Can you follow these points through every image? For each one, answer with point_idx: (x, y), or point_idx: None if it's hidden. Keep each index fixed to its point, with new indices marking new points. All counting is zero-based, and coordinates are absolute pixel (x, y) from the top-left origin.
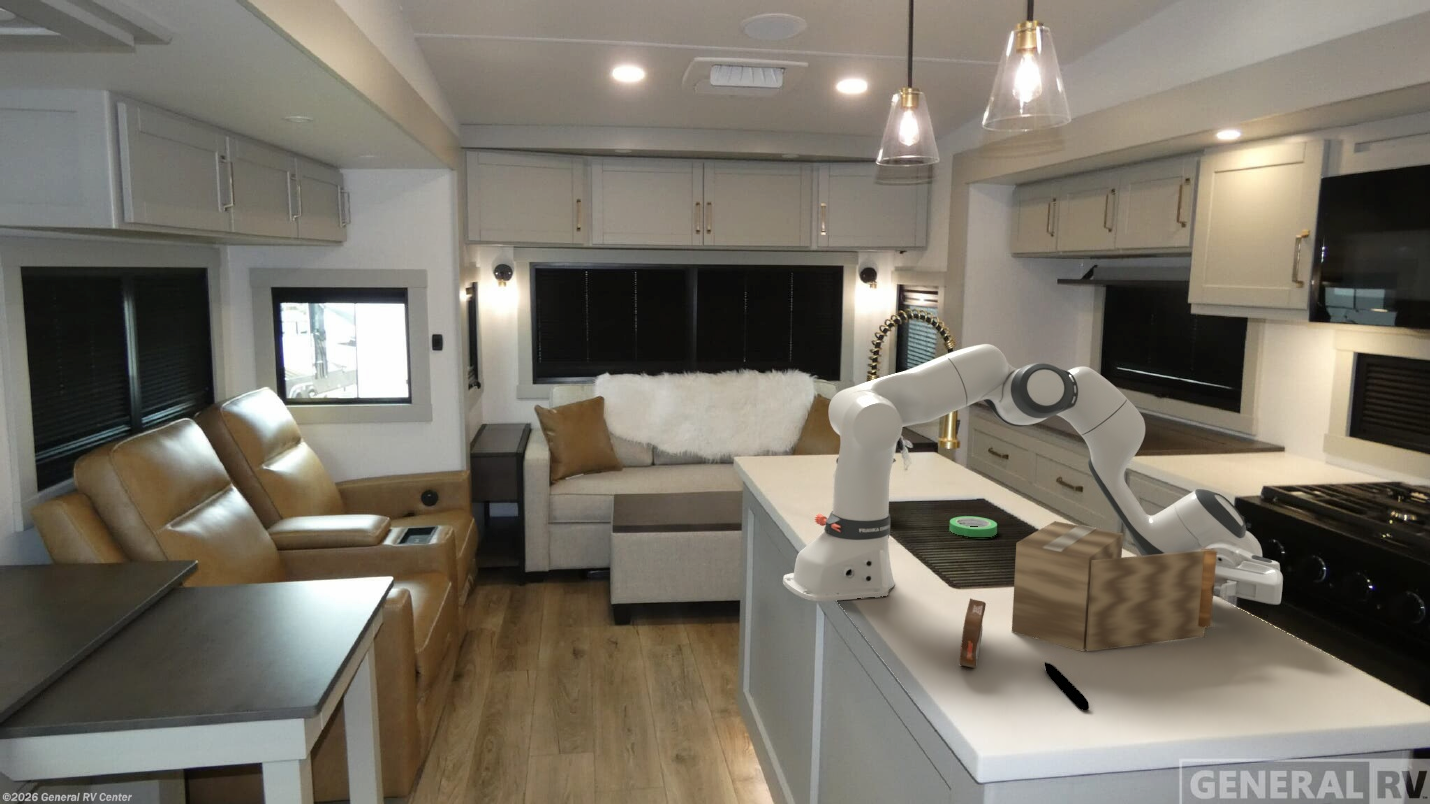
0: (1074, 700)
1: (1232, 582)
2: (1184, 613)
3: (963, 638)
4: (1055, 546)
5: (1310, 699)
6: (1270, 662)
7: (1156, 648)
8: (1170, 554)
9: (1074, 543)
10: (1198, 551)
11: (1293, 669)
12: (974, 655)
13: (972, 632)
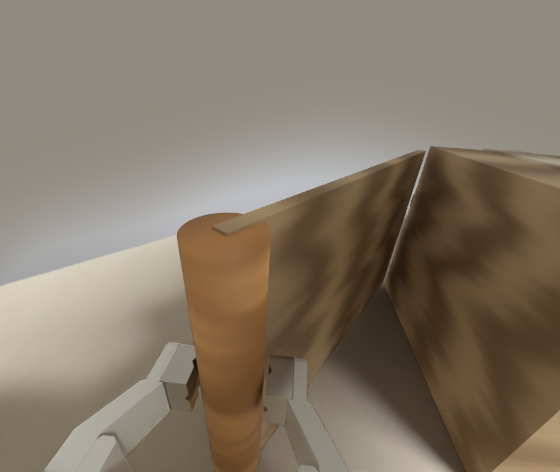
0: None
1: (86, 437)
2: None
3: None
4: (515, 152)
5: (113, 286)
6: (99, 396)
7: None
8: (348, 176)
9: (539, 164)
10: (275, 205)
11: (62, 382)
12: (410, 205)
13: None
